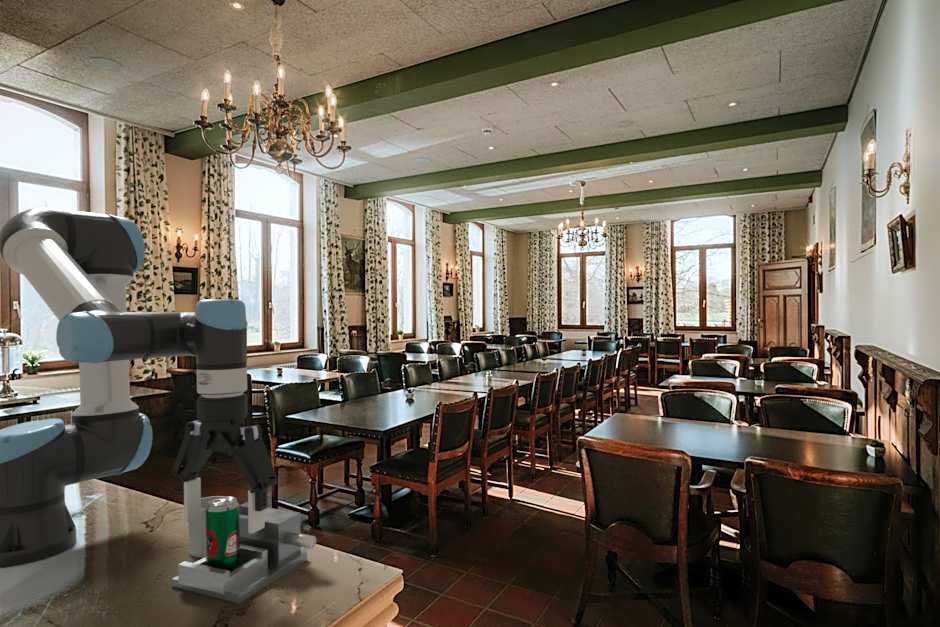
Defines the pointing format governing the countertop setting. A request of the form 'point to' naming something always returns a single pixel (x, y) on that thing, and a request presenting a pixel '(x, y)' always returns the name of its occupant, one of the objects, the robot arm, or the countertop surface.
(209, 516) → the soda can
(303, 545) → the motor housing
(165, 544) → the countertop surface
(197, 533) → the cup
